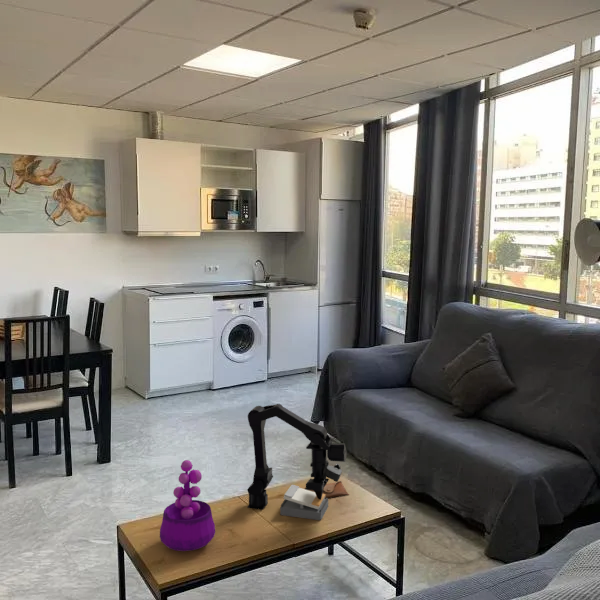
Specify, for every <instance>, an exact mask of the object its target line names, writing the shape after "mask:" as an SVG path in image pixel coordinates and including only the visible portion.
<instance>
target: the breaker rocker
mask: <svg viewBox="0 0 600 600" xmlns="http://www.w3.org/2000/svg"><path fill="white" fill-rule="evenodd" d="M325 495H326V494H322V499H321V500H320V499H318V498H317V496H316V494H315V492H312V491H309V490H305V488H302V487H300V486H299V485H295V484H291V485H290V487H289V488H288V489H287V490H286V492H284V495H283V500H285V499H286V500H289V501H292V502H296V503H299V504H302V505H305V506H309V507H312V508H315V509H319V508H320V506H321V504H322V502H323V501H324V499H325Z"/></svg>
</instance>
